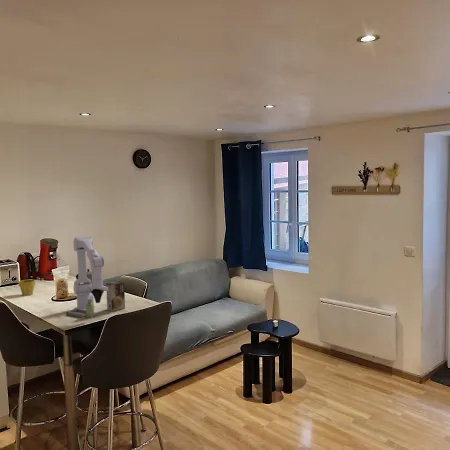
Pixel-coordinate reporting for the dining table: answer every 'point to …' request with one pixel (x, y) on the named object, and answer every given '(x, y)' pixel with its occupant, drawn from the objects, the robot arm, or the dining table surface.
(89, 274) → the coffeepot
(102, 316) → the dining table surface
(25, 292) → the plant pot
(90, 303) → the bottle
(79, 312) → the u rest
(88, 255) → the robot arm
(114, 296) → the coffee box
